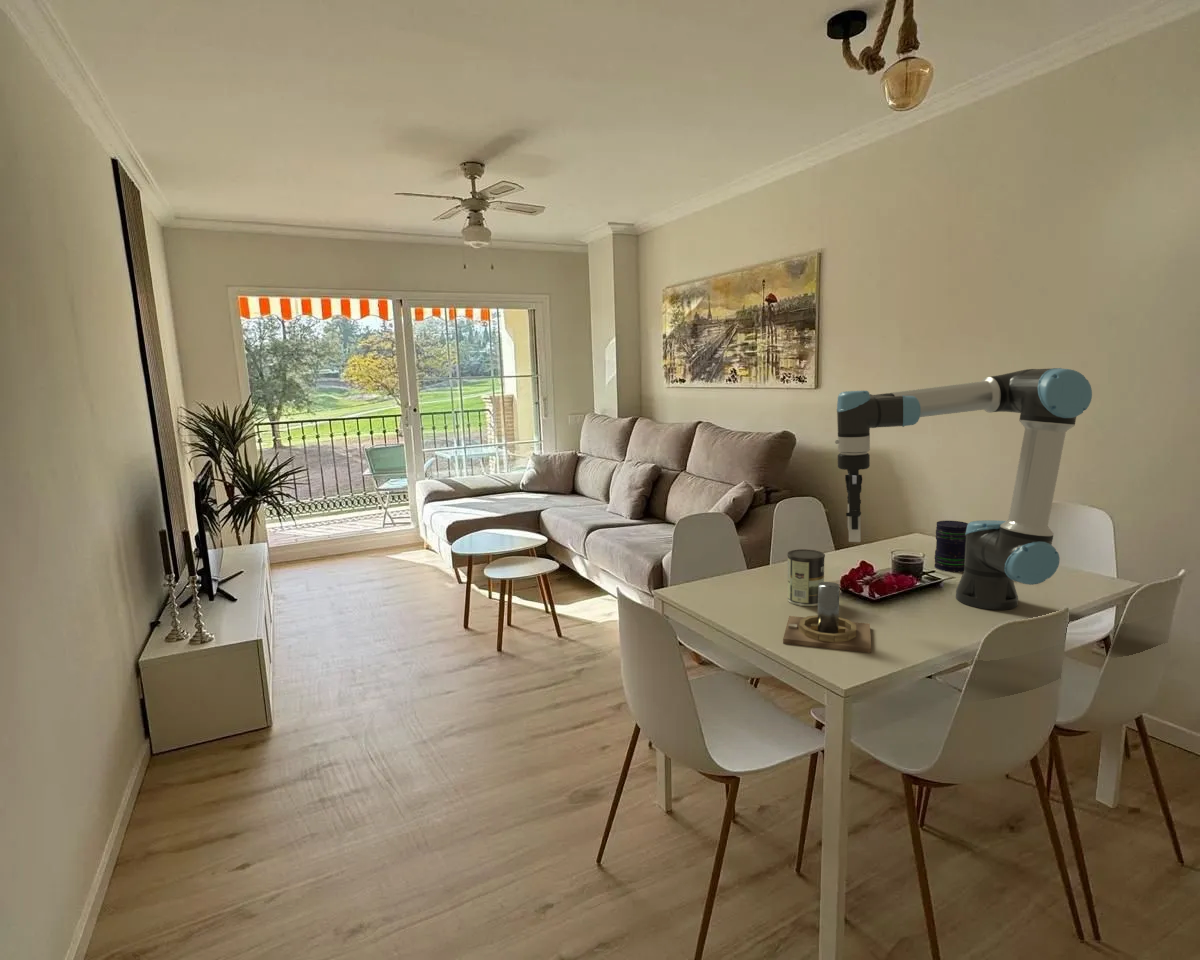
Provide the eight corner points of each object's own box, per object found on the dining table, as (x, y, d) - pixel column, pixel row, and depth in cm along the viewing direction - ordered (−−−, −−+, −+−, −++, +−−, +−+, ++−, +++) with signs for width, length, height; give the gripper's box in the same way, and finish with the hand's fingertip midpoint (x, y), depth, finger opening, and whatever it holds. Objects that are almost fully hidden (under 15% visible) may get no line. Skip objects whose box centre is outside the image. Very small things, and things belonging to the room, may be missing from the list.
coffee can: (821, 595, 194) (822, 549, 192) (826, 607, 184) (827, 559, 182) (785, 594, 196) (786, 548, 194) (788, 606, 186) (788, 558, 184)
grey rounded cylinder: (811, 625, 168) (812, 580, 166) (845, 629, 165) (846, 583, 163) (810, 632, 163) (810, 586, 161) (845, 636, 160) (846, 589, 158)
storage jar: (927, 564, 220) (929, 521, 218) (955, 562, 221) (957, 519, 219) (946, 573, 210) (948, 528, 208) (974, 571, 211) (977, 526, 209)
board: (869, 628, 168) (869, 617, 168) (871, 653, 153) (871, 641, 153) (789, 620, 175) (789, 610, 175) (783, 643, 161) (783, 632, 160)
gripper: (837, 447, 177) (838, 523, 180) (837, 460, 154) (838, 547, 157) (867, 446, 175) (867, 523, 178) (872, 459, 152) (872, 548, 155)
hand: (853, 534), depth 168 cm, fingers open, 13 cm apart
